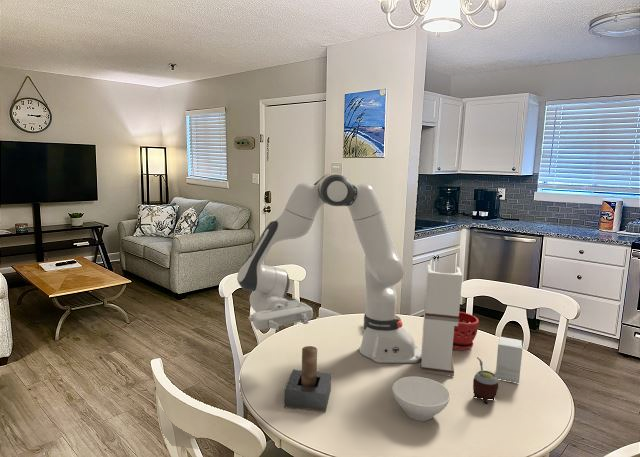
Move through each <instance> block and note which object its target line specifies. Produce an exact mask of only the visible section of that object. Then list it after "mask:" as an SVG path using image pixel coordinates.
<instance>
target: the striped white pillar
mask: <svg viewBox="0 0 640 457" xmlns="http://www.w3.org/2000/svg"><path fill="white" fill-rule="evenodd" d="M431 267H432V266H431V264H427V269H426V270H427V271H426V282H425V283H426V286H425V294H424V295H425V296H424V298H425V299H424V311H423V323H422V324H423V325H422V339H421V340H422V341H421V351H420V353H421V358H420V372H422V374H429V373H431V374H430V375H437V374H440V375H439V376H444V375H450V376H449V377H452V376H455V369H454V368H455V367H454V362H453V336H454V326H458V322H459V321H460V319H459V312H460V310H461V309H460V308H461V307H460V305H461V295H462V284H463V283H462V282H463V273H462V271H461V268H460V266H456V269H455V272H453V273H448V272H445V273H444V272H438V271H434V270H433V269H432V268H431Z"/></svg>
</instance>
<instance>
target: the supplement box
mask: <svg viewBox="0 0 640 457" xmlns="http://www.w3.org/2000/svg"><path fill="white" fill-rule="evenodd" d="M522 356H523V340H521V339H515V338H510V337H509V338H508V337H505V336H499V338H498V344H497V354H496V368H495V375H496V377H497V379H501V380H506V381H511V382H516V383H519V384H520V377H521V376H520V375H521V366H522V358H523V357H522Z"/></svg>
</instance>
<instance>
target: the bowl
mask: <svg viewBox="0 0 640 457" xmlns="http://www.w3.org/2000/svg"><path fill="white" fill-rule="evenodd" d="M391 388H392V394H393V396H394V399H395V401H396V402H397V404H398V405H399V406H400V407H401V409H403V411H405V413H406V415H407V416H408V417H409V418H411V419H413V420H416V421H421V422H426V421H429V420H431V419H432V418H434V417H435V416H437V415H438V414H440V413H441V412H442V411H443V410H445V408H447V406H448V404H449V403H450V400H451V393H450V391H449V389H448V388H447V387H446V386H445V385H444V384H442V383H440V381H436V380H434V379H432V378H427V377H423V376H404V377H400V378H399V379H397V380H395V381H394V382H393V384H392V387H391Z"/></svg>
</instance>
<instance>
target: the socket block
mask: <svg viewBox="0 0 640 457" xmlns="http://www.w3.org/2000/svg"><path fill="white" fill-rule="evenodd" d="M301 376H302V369H301V370H300V369H292V372H291V373H290V376H289V378H288V380H287V383H286V385H285V388H284V392H283V393H284V395H283V396H284V398H283V401H284V402H283V408H284V409H291V410H292V409H294V410H302V411H311V412H319V413H327V409H328V403H329V400H330V395H331V392H332V373H330V372H321V371H317V373H316V387H309V386H301Z"/></svg>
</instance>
